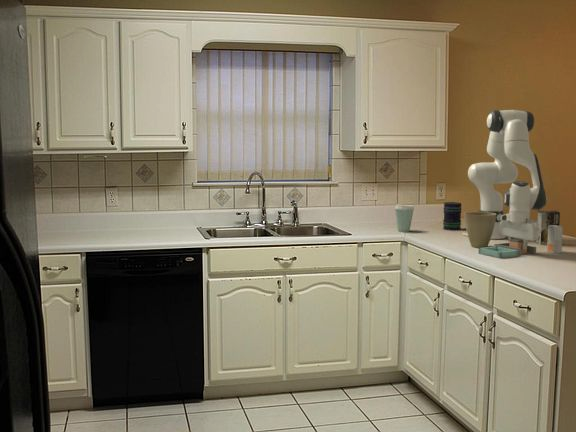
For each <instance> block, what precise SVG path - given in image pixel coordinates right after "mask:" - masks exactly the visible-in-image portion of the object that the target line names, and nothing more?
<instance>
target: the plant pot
mask: <svg viewBox="0 0 576 432" xmlns="http://www.w3.org/2000/svg"><path fill="white" fill-rule="evenodd" d="M463 217H464V225H465V228H466V229H465V230H466V232H467V234H468V236H467V237H468V240H469V243H470V246H471V247H472V248H475V249H477V248H478V249H479V248H485V247H489V244H490V241H491V240H492V239H491V236H492V233H493V229H494V225H495V220H496V214H495V213H489V212H477V211H469V212H463Z"/></svg>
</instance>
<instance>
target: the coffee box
mask: <svg viewBox="0 0 576 432" xmlns="http://www.w3.org/2000/svg"><path fill="white" fill-rule="evenodd" d="M536 217H537V219H536V222H537V223H538V232H539V238H538V240H537V241H535V243H536V244H538V245H540V246H541V245H546V246H547V243H548V225H557V226H561V225H560V222H561V220H560V219H561V212H560V211H558V210H537V215H536Z"/></svg>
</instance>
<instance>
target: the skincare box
mask: <svg viewBox="0 0 576 432" xmlns="http://www.w3.org/2000/svg"><path fill="white" fill-rule="evenodd" d="M563 229H564V227H563V226H561V225H559V226H557V225H548V243H547V245H546V248H547V249H546V251H548V252H550V253H552V254H561V253H562V252H563V251H562V249H563Z"/></svg>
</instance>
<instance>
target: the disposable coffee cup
mask: <svg viewBox="0 0 576 432" xmlns="http://www.w3.org/2000/svg"><path fill="white" fill-rule="evenodd" d="M394 209H395V218H396V225H397V227H396V228H397V231H398V232H400V233H408V232H410V231H411V230H410V229H411V225H412V220H413V214H414V210H415V206H413V205H410V204H399V203H398V204H395V207H394Z"/></svg>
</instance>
